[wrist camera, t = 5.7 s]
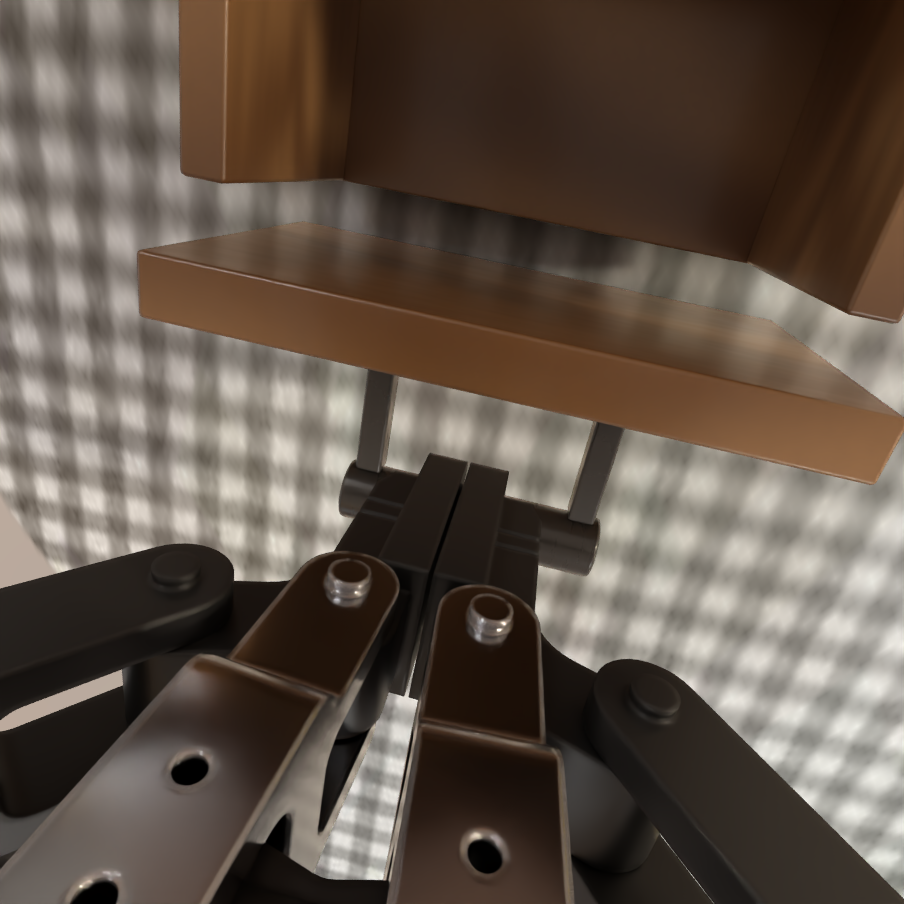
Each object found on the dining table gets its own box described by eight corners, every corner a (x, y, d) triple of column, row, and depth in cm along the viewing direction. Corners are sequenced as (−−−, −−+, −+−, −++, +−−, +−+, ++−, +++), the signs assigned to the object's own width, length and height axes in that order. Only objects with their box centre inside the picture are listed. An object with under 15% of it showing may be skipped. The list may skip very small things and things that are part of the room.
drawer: (696, 513, 19) (762, 696, 12) (287, 415, 20) (146, 535, 13) (1088, -455, 10) (1959, -1517, 4) (352, -532, 12) (62, -1463, 5)
